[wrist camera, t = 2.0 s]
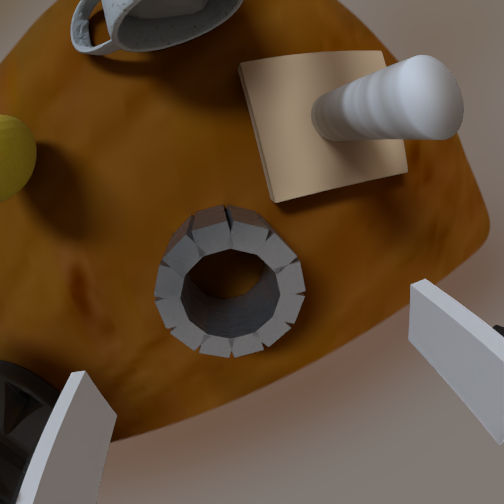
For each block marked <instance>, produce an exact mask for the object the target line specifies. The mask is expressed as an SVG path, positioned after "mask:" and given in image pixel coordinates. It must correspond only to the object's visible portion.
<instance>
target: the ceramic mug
mask: <svg viewBox="0 0 504 504" xmlns="http://www.w3.org/2000/svg"><path fill="white" fill-rule="evenodd" d="M99 1H100V0H81V1H80V3H79V4H78V6H77V8H76V10H75V12H74V15H73V18H72V23H71V39H72V43H73V45H74V47H75V49H76V50H77V51H79V52H81V53H85V54H91V55H106V54H110V53H112V52H115V51H117V50H119V49H122V50H125V51H129V52H147V51H154V50H160V49H164V48H168V47H171V46H174V45H177V44H181V43H184V42H186V41H189V40H191V39H194V38H196V37H199V36H200V35H202V34H205V33H207V32H209V31H211V30H212V29H214V28H215V27H217V26H219V25H220V24H222V23H223V22H225V21H226V20H227V19H229V18H230V17H231V16H232V15H233V14H234V13H235V12H236V11H237V10H238V8H239V7H240V5H241V4H242V2H243V0H102V5H103V10H104V14H105V19H106V23H107V27H108V31H109V34H110V37H111V40H109V41H107V42H105V43H102V44H101V45H98V46H96V47H93V46H92V45H91V41H90V36H89V28H88V25H89V21H88V20H89V17H90V14H91V12H92V11H93V9H94V7H95V6H96V4H97V3H98V2H99Z"/></svg>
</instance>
